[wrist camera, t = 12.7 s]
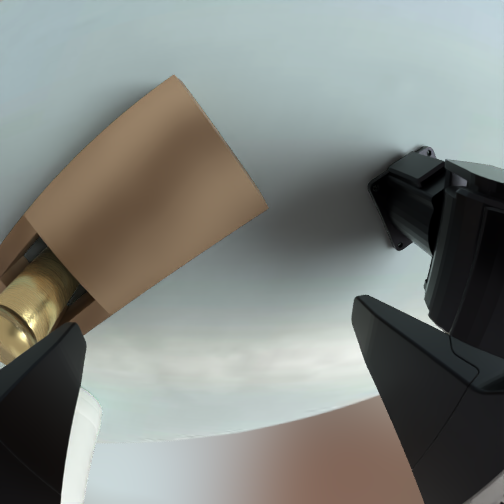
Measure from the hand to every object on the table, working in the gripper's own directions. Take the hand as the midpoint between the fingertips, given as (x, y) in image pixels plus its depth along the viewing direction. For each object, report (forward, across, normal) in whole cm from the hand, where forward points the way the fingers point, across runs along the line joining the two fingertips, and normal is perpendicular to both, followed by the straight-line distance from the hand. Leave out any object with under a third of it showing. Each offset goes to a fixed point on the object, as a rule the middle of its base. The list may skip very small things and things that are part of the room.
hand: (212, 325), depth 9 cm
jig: (+13, +8, 0) cm, 15 cm away
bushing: (+13, +12, +3) cm, 18 cm away
